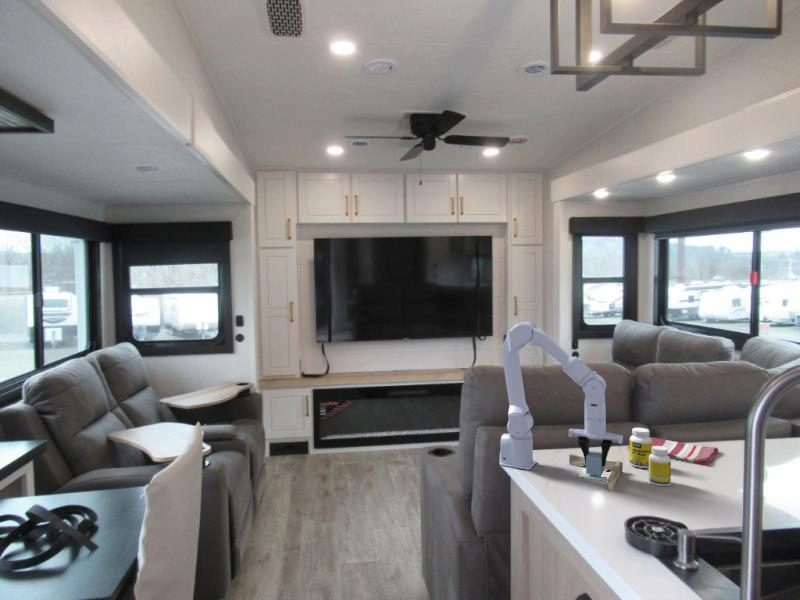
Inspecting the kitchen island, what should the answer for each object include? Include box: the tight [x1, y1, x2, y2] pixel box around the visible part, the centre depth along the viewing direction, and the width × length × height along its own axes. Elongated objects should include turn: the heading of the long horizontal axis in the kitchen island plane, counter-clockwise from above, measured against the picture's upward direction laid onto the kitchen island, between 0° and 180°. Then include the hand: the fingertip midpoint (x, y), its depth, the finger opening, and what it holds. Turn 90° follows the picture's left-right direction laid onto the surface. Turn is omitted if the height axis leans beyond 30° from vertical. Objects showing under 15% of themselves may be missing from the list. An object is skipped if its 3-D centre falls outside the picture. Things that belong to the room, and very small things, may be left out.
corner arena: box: [568, 453, 624, 492], centre depth 146 cm, size 15×16×3 cm
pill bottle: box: [629, 427, 652, 469], centre depth 154 cm, size 6×6×11 cm
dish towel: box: [627, 436, 719, 467], centre depth 166 cm, size 17×23×3 cm
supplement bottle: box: [648, 446, 672, 487], centre depth 141 cm, size 5×5×10 cm
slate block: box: [585, 449, 606, 476], centre depth 148 cm, size 6×4×5 cm, turn 149°
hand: (595, 464), depth 147 cm, fingers closed on slate block, 4 cm apart
